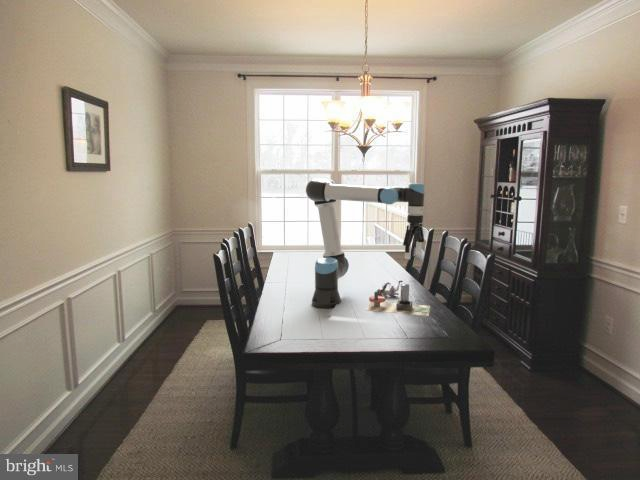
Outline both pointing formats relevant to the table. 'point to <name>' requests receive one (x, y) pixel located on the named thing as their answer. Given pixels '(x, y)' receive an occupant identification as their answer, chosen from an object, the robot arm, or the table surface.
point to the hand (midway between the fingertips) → (413, 256)
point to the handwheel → (376, 299)
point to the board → (400, 308)
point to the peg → (404, 294)
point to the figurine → (386, 292)
